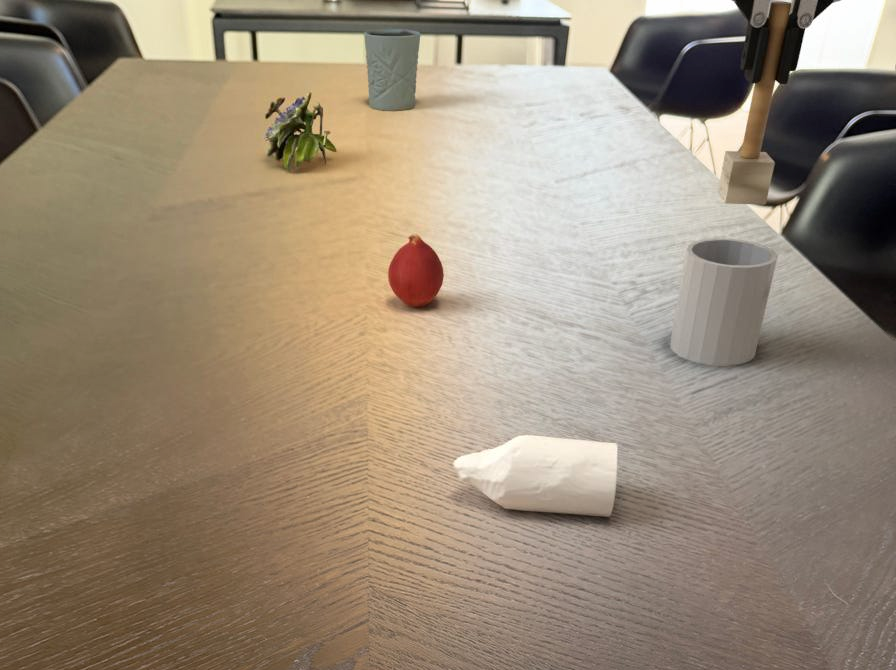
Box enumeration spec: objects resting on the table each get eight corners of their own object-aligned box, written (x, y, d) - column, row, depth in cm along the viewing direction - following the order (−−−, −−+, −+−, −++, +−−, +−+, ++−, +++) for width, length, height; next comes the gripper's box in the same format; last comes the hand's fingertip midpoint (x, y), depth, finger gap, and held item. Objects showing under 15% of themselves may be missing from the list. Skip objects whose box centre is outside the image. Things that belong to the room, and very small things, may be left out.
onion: (407, 296, 112) (407, 221, 107) (452, 306, 109) (454, 230, 104) (379, 312, 108) (377, 236, 103) (425, 323, 105) (426, 245, 100)
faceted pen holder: (744, 339, 103) (766, 239, 96) (761, 373, 96) (786, 268, 90) (664, 337, 103) (680, 237, 97) (675, 370, 97) (694, 265, 90)
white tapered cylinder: (456, 481, 80) (458, 416, 76) (607, 491, 79) (617, 426, 75) (448, 521, 75) (450, 454, 72) (609, 532, 74) (619, 465, 71)
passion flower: (282, 196, 160) (275, 120, 160) (348, 185, 158) (341, 108, 158) (258, 169, 149) (250, 86, 149) (328, 156, 147) (321, 73, 147)
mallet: (757, 193, 92) (798, 0, 82) (765, 204, 89) (809, 6, 79) (717, 192, 92) (754, -1, 82) (724, 203, 89) (763, 5, 79)
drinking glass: (358, 109, 186) (356, 34, 179) (376, 98, 194) (375, 26, 186) (409, 113, 184) (409, 37, 176) (426, 102, 191) (427, 29, 184)
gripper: (916, -203, 75) (847, 74, 87) (705, -205, 76) (665, 70, 88) (952, -205, 70) (873, 92, 81) (724, -208, 70) (678, 87, 82)
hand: (765, 79), depth 84 cm, fingers closed on mallet, 1 cm apart
